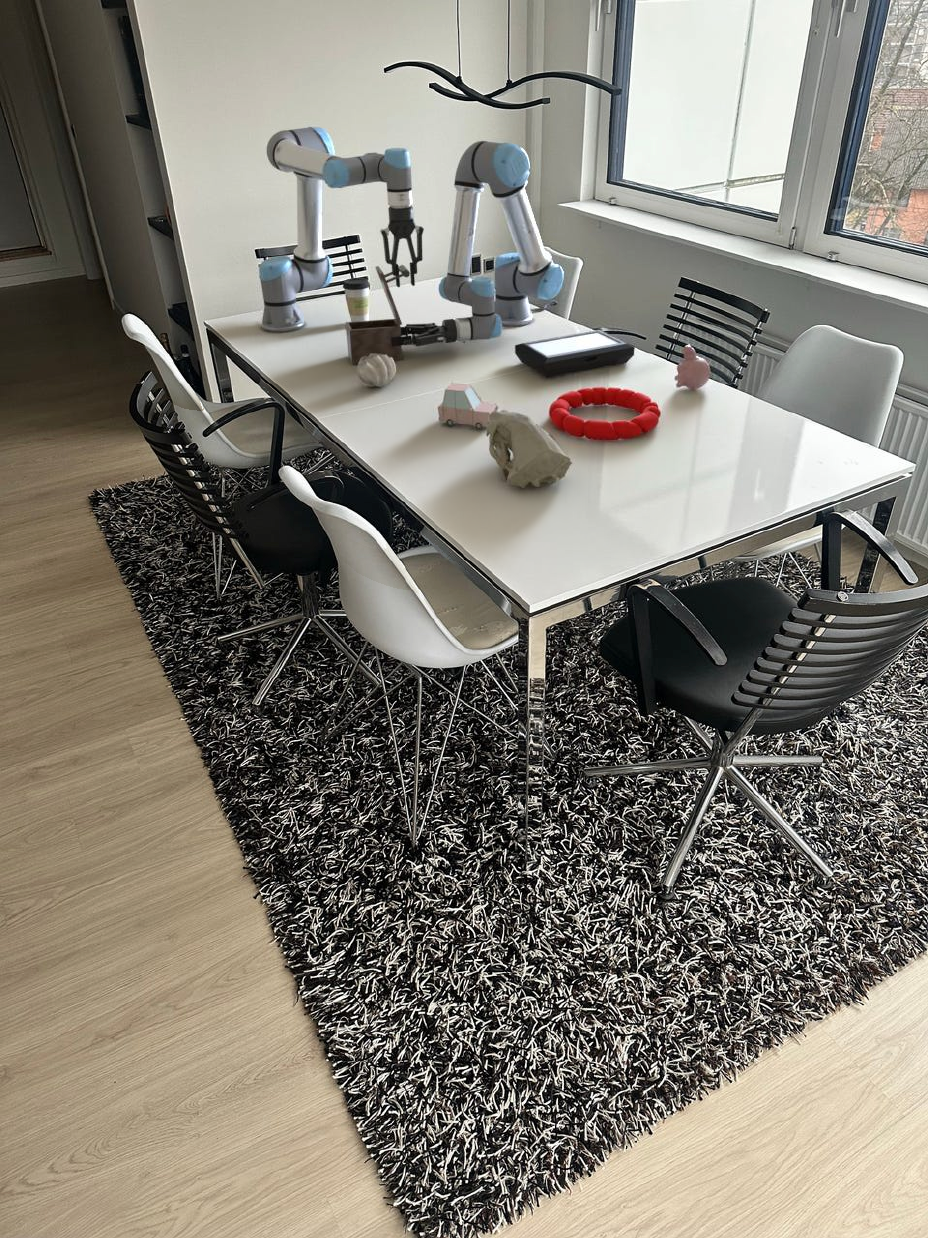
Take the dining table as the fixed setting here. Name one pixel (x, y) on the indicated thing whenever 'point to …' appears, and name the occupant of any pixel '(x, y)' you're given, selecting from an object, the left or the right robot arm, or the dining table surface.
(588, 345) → the electronic device
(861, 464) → the dining table surface
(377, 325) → the chest
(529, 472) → the animal skull
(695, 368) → the figurine
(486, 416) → the toy car
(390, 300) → the panel with cylinder handle
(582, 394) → the decorative ring
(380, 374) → the seashell
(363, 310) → the coffee cup
